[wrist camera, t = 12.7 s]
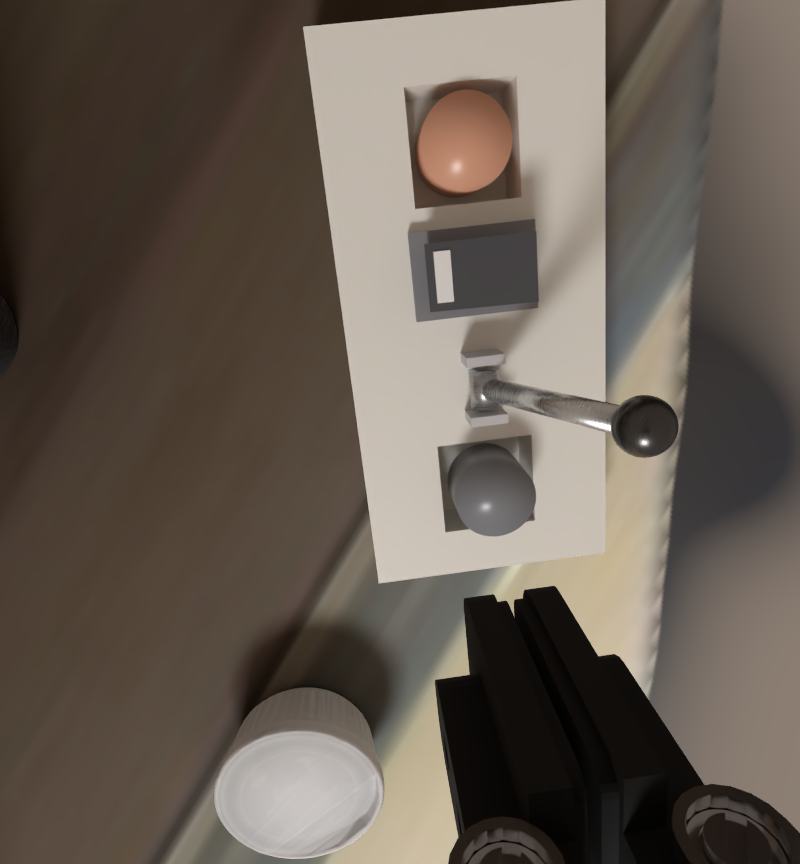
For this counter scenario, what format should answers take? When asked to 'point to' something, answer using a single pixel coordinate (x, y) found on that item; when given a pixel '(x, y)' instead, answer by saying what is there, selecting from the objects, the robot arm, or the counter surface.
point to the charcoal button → (491, 490)
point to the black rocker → (482, 272)
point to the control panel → (377, 281)
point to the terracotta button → (463, 143)
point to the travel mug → (7, 336)
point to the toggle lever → (583, 411)
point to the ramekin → (300, 776)
